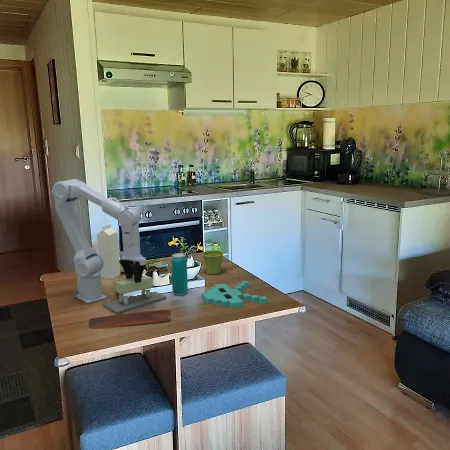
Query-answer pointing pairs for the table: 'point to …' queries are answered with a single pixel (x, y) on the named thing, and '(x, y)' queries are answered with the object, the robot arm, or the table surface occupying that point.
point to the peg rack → (133, 301)
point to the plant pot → (213, 261)
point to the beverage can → (179, 274)
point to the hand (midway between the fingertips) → (133, 280)
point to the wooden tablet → (130, 319)
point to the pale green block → (133, 285)
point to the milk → (109, 252)
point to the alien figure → (230, 295)
